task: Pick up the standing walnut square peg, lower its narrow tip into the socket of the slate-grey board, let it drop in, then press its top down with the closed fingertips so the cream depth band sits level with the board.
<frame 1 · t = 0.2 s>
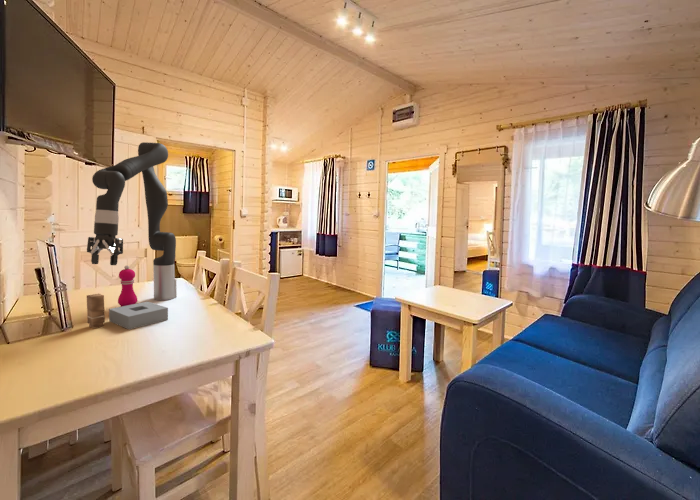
hand: (104, 264, 132), 23 cm above the table, tool pointing down, fingers open, 8 cm apart
pepper mill: (128, 310, 151), on the table
socket board: (139, 320, 139), on the table
walnut peg: (96, 326, 130), on the table
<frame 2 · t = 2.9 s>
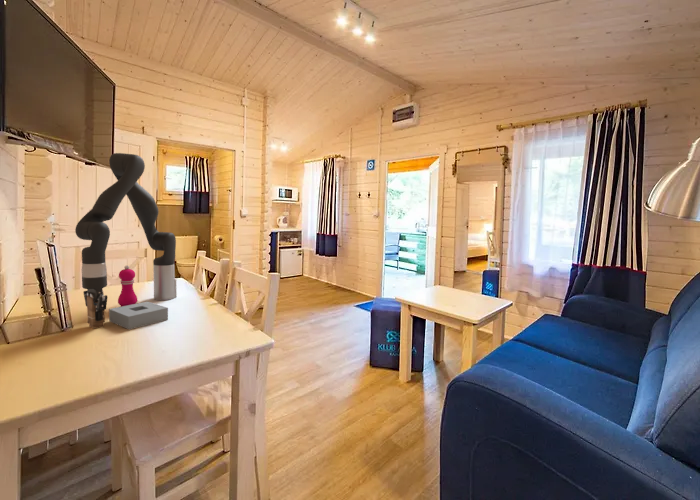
hand: (96, 319, 130), 3 cm above the table, tool pointing down, fingers closed on walnut peg, 4 cm apart
walnut peg: (96, 326, 130), on the table, touching gripper
everything else where it was.
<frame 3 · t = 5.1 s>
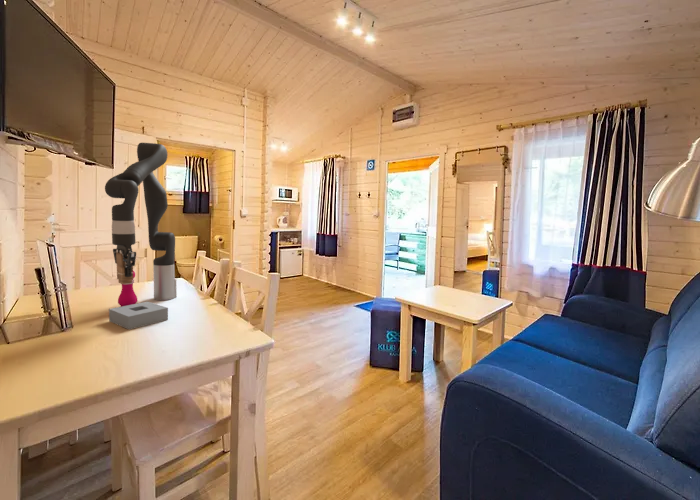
hand: (125, 275, 135), 19 cm above the table, tool pointing down, fingers closed on walnut peg, 4 cm apart
walnut peg: (125, 282, 135), point 16 cm above the table, touching gripper
everything else where it was.
when the fingers open (6 cm above the table, at t = 7.7 s): walnut peg drops 2 cm, resting on socket board.
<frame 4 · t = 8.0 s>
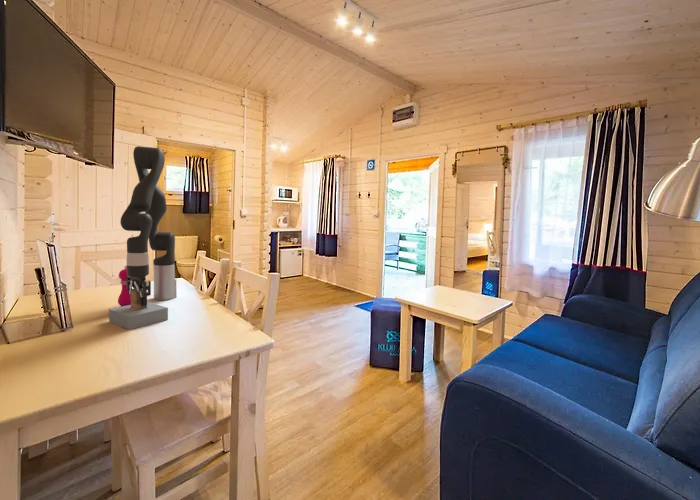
hand: (138, 304, 138), 7 cm above the table, tool pointing down, fingers open, 7 cm apart
walnut peg: (139, 318, 139), point 1 cm above the table, touching socket board
everything else where it was.
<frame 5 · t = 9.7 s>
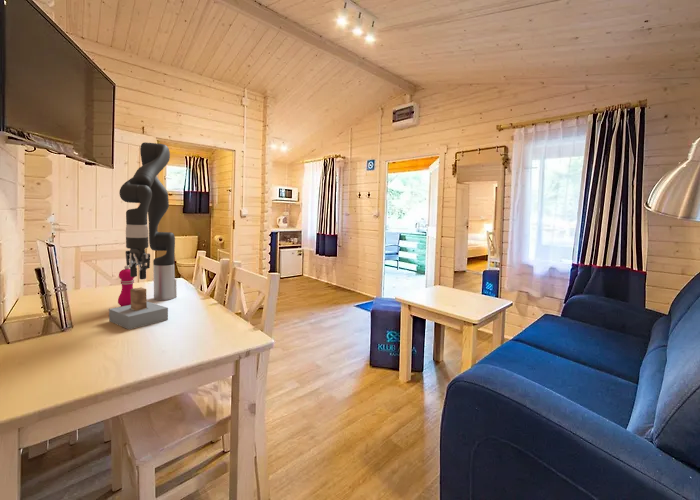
hand: (138, 277, 137), 18 cm above the table, tool pointing down, fingers open, 6 cm apart
nothing on the table moved.
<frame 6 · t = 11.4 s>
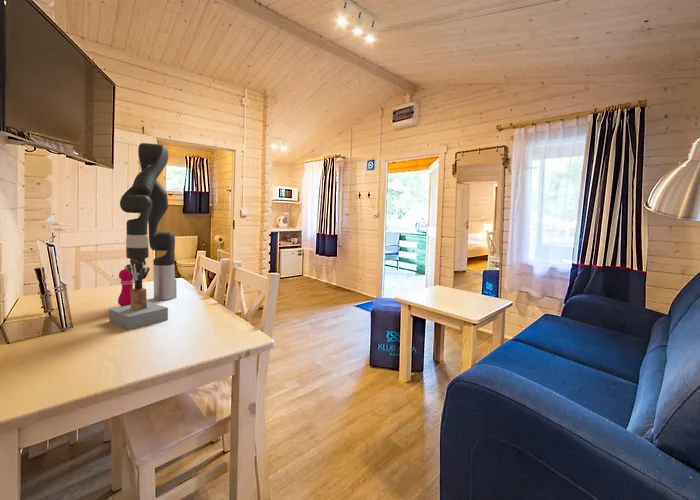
hand: (138, 289, 137), 13 cm above the table, tool pointing down, fingers closed
walnut peg: (139, 318, 139), point 1 cm above the table, touching gripper, socket board
everything else where it was.
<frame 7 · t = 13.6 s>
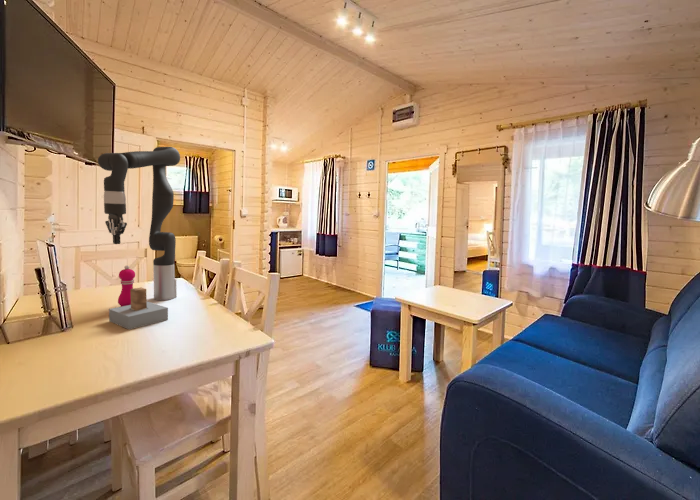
hand: (116, 243, 145), 30 cm above the table, tool pointing down, fingers closed
walnut peg: (139, 318, 139), point 1 cm above the table, touching socket board
everything else where it was.
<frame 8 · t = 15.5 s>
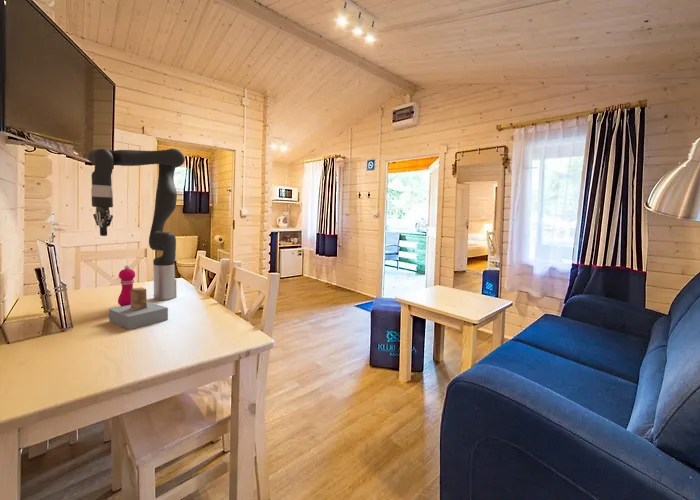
hand: (103, 235, 151), 32 cm above the table, tool pointing down, fingers closed
nothing on the table moved.
at the end: walnut peg 0.0 cm off-centre on the socket board, point 1.0 cm above the socket board's base; walnut peg tilted 0°; the gripper is holding nothing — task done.
